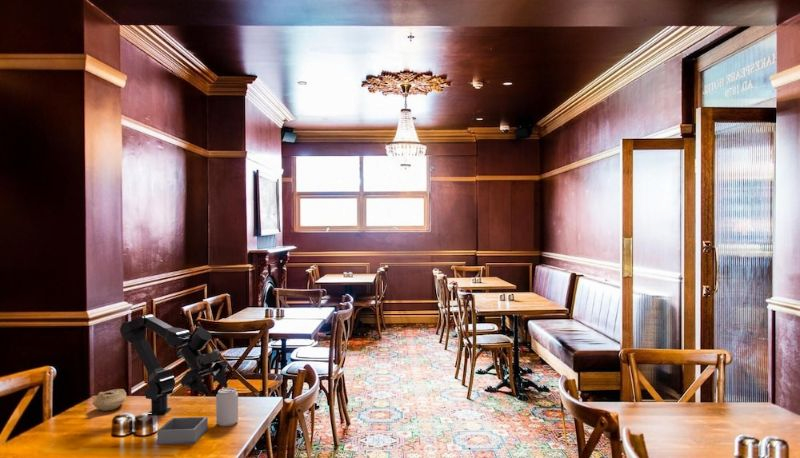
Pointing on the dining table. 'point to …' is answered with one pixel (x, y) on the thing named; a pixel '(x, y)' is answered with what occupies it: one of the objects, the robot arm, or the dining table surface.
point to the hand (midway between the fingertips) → (217, 390)
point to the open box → (182, 430)
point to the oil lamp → (109, 399)
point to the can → (227, 407)
